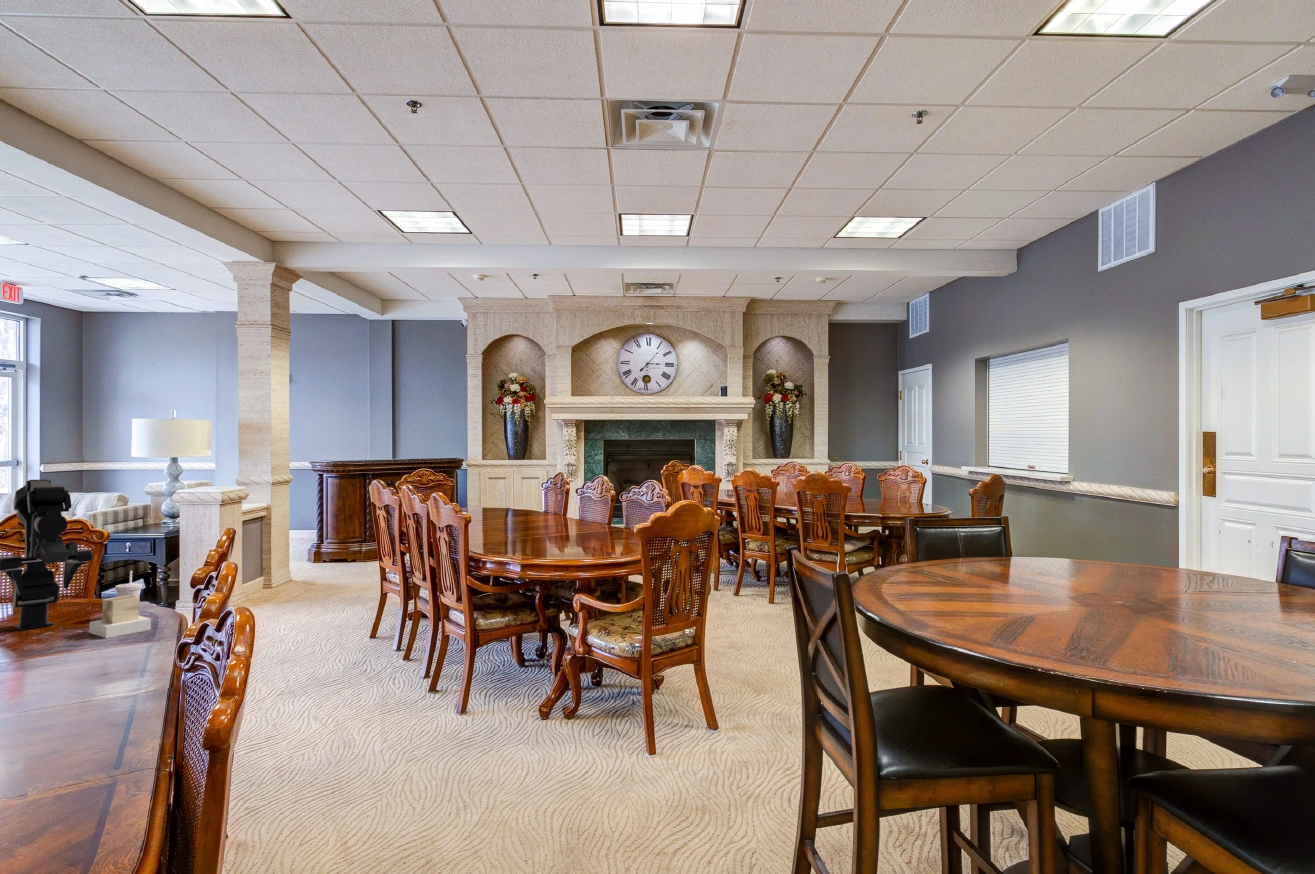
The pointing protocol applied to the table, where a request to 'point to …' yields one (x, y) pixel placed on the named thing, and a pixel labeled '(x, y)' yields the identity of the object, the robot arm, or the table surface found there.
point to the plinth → (119, 627)
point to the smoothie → (129, 588)
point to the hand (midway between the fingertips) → (43, 591)
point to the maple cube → (120, 609)
